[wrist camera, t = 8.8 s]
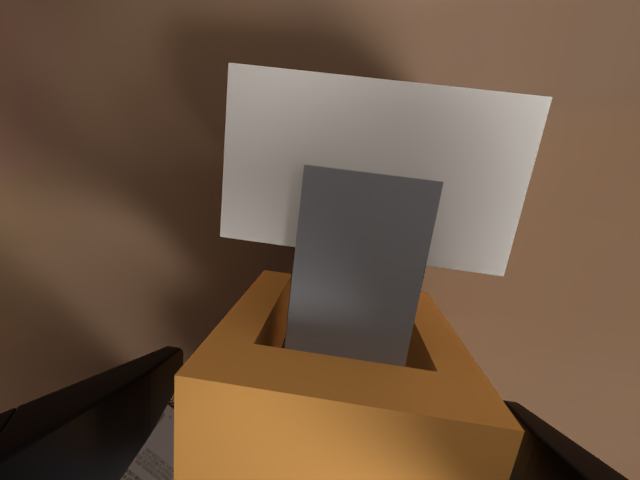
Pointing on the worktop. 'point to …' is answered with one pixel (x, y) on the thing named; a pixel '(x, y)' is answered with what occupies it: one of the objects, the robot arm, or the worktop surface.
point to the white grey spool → (373, 193)
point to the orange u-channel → (335, 405)
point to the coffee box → (156, 452)
